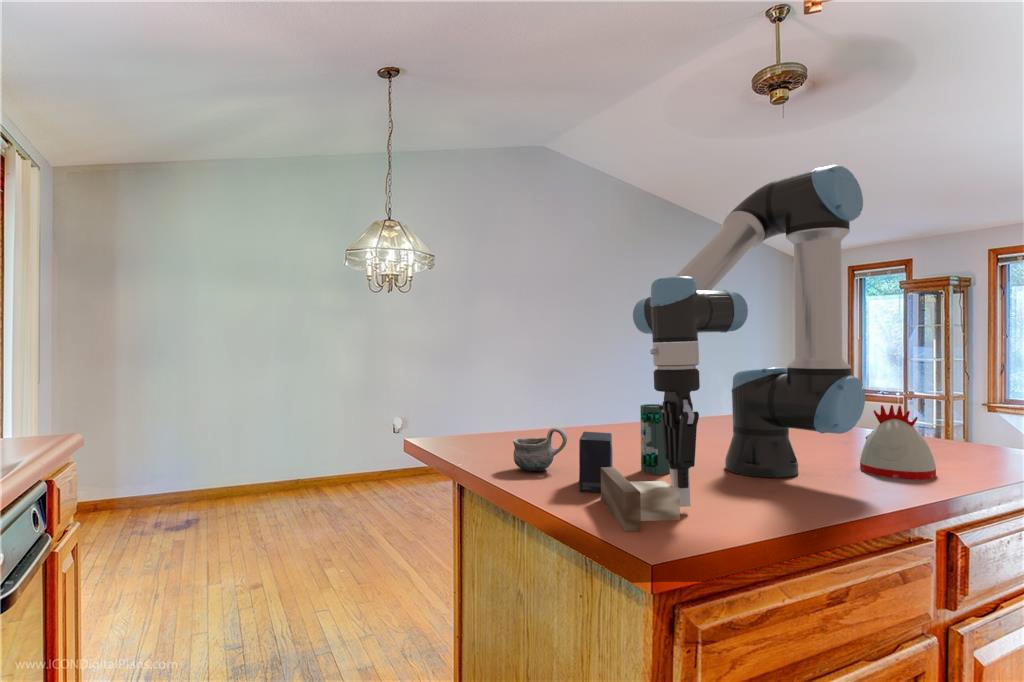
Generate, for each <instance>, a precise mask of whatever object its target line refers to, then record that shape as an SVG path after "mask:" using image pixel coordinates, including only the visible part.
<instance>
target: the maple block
mask: <svg viewBox="0 0 1024 682" xmlns="http://www.w3.org/2000/svg"><path fill="white" fill-rule="evenodd" d="M629 482H630V483H631V484H632V485H633V486H634V487H635V488H636V489H638V490H639V491H640V506H641V522H646V521H647V522H648V521H649V522H650V521H680V520H681V507H680V492H678V491H677V490H676V489H674V488H673V487H672V486H671V484H669V483H667V482H666V481H665V480H653V481H652V480H651V481H650V480H649V481H648V480H647V481H646V480H645V481H629Z"/></svg>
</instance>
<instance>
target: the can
mask: <svg viewBox="0 0 1024 682" xmlns="http://www.w3.org/2000/svg"><path fill="white" fill-rule="evenodd" d="M659 405H662V404H659V403H658V404H657V403H656V404H655V403H653V404H651V403H649V404H648V403H647V404H640V407H639V408H640V469H641V472H642V473H643V472H644V473H643V474H647V475H652V474H655V475H656V476H657V475H658V476H659V475H660V474H665V475H669V474H671V468H670V465H669V460H666V458H665V449H664V440H663V431H662V422H661V416H660V411H659ZM668 473H669V474H668ZM660 476H661V475H660Z"/></svg>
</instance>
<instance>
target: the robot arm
mask: <svg viewBox="0 0 1024 682" xmlns="http://www.w3.org/2000/svg"><path fill="white" fill-rule="evenodd" d="M863 208H864V198H863V192H862V189H861V186H860V183H859V181H858V180H857V178H856V177H855V175H854V174H853V172H851V171H850V170H849V169H848V168H847V167H845V166H842V165H840V164H832V165H827V166H823V167H816V168H814V169H812V170H809V171H805V172H801V173H798V174H796V175H791V176H788V177H785V178H782V179H778V180H774V181H772V182H768V183H766V184H764V185H763V186H761V187H760V188H758V189H756V190H755V191H754V192H752V193H751V194H750V195H748V196H747V197H746V198H744V200H742V201H741V202H740V203H739V204H737V206H735V208H734V209H733V210H732V211H730V213H729V214H728V215H726V216H725V218H724V220H723V224H722V227H721V228H720V229H719V230H718V231H717V232H716V233H715V234H714V235H713V236H712V237H711V239H709V241H708V242H706V243H705V245H704V246H703V247H702V248H701V249H700V250H699V251H698V252H697V253H696V254H695V255H694V256H693V257H691V259H690V260H689V261H688V262H687V263H686V264H685V266H683V267H682V268H681V270H679V271H678V272H677V274H676V275H675V276H666V277H661V278H657V279H655V280H654V281H652V282H651V287H650V296H647V297H646V298H642V299H640V300H638V301H637V302H636V304H635V306H634V308H633V311H632V321H633V323H634V325H635V327H636V329H637V330H638V331H639V332H640V333H643V334H647V335H652V339H651V340H652V348H651V349H650V350H649V351H650V352H649V353H650V355H653V356H652V358H653V359H652V360H653V361H652V362H653V366H655V367H656V369H654V371H653V387H654V390H655V391H656V392H661V393H663V392H664V395H663V401H662V404H661V405H659V411H660V416H661V422H662V431H663V440H664V449H665V458H666V460H669V465H670V486H672V487H673V488H674V489H676V490H677V491H678V492H680V508H684V507H685V508H686V507H691V489H690V488H691V485H690V484H691V483H690V469H691V468H694V467H695V463H696V462H695V461H696V448H697V447H696V446H697V429H698V427H697V426H698V423H699V422H698V421H699V418H700V414H699V412H698V411H693V410H694V408H693V401H692V397H691V392H696V391H699V390H700V389H701V386H700V385H701V384H700V383H701V382H700V370H699V368H696V366H698V365H700V352H699V351H700V349H699V333H700V334H701V333H724V334H726V333H728V332H734V331H737V330H739V329H741V327H742V328H743V326H744V325H745V323H746V321H747V318H748V314H749V312H748V311H749V307H748V303H747V301H746V300H745V298H744V297H743V296H742V295H741V294H740V293H739V292H735V291H732V290H731V291H729V290H726V289H723V290H714V288H715V287H716V286H717V285H718V284H719V283H720V282H721V281H722V279H724V277H726V275H727V274H728V273H729V272H730V271H731V270H732V269H733V268H734V267H735V265H736V264H738V262H739V261H740V260H742V258H743V257H744V256H745V255H746V254H747V253H748V252H749V250H751V249H756V248H757V247H759V246H760V245H761V244H762V243H763V242H764V241H766V240H767V239H769V238H772V237H775V236H778V235H781V234H785V238H786V240H788V241H789V242H790V243H791V244H792V245H793V267H794V268H793V271H794V272H793V275H794V276H793V277H794V279H793V280H794V281H793V282H794V283H793V287H794V295H793V296H794V359H793V360H792V361H791V362H789V364H788V365H786V367H783V366H782V367H769V368H768V367H766V368H758V369H757V368H756V369H747V370H746V369H745V370H741V371H737V372H735V374H734V375H733V376H732V386H731V387H732V388H731V396H732V397H731V399H732V400H731V401H732V405H731V406H732V438H731V440H730V444H729V446H728V450H727V453H726V456H725V459H724V460H725V461H724V463H725V464H724V465H725V466H724V467H725V469H726V471H729V472H732V473H734V474H735V473H736V474H739V475H742V476H743V475H744V476H750V477H757V478H758V477H759V478H787V477H788V478H790V477H794V476H797V475H798V474H799V463H798V460H797V457H796V454H795V451H794V448H793V446H792V443H791V440H790V434H789V433H790V430H789V429H795V430H801V431H810V432H817V433H819V434H837V435H840V434H845V433H848V432H849V431H851V430H853V428H854V427H855V426H856V425H857V424H858V422H859V421H860V419H861V418H862V414H863V412H864V409H865V406H866V405H865V404H866V390H865V387H863V385H864V384H863V382H862V381H861V380H860V378H858V377H856V376H854V375H852V365H850V364H848V363H847V361H845V359H844V358H843V307H842V306H843V305H842V304H843V302H842V301H843V299H842V295H843V291H842V290H843V287H842V285H843V283H842V282H843V281H842V241H843V240H844V238H846V237H847V236H848V234H850V228H851V227H850V225H851V223H850V222H853V221H855V220H857V218H859V217H860V216H861V214H862V213H861V212H862V211H863Z"/></svg>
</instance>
